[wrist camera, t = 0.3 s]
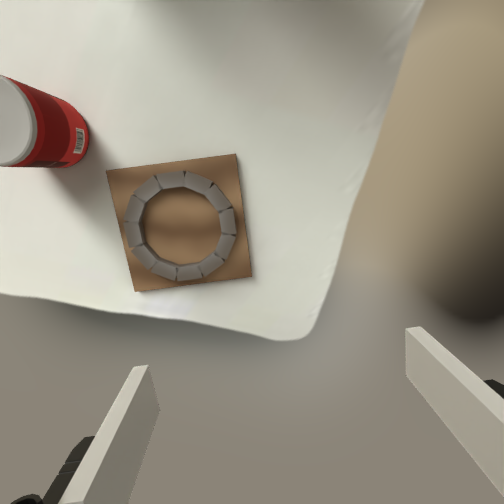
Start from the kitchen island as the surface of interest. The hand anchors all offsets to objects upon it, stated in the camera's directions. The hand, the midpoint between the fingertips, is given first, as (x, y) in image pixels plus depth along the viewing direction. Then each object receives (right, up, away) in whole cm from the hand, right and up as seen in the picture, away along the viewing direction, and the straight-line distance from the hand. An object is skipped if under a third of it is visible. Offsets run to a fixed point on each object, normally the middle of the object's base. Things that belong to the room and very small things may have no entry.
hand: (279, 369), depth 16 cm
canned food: (-25, +20, +22) cm, 39 cm away
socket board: (-10, +10, +25) cm, 29 cm away
